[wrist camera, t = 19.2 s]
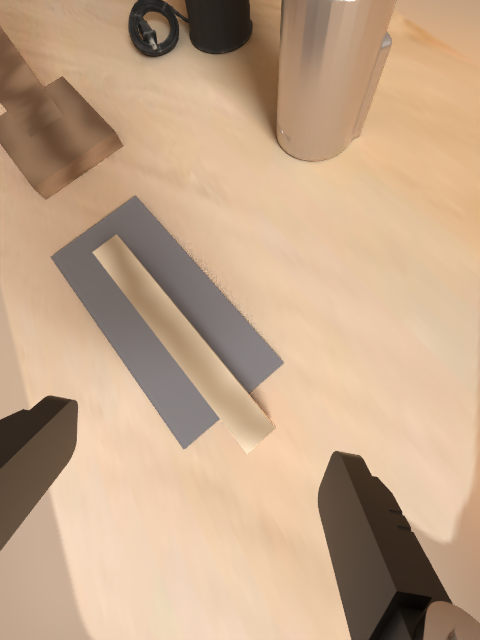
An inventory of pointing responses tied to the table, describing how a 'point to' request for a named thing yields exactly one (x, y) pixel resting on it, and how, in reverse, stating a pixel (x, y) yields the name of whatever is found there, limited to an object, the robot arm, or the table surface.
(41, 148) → the walnut pedestal
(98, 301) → the charcoal mat
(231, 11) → the milk frother
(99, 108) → the table surface
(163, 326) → the birch bar
